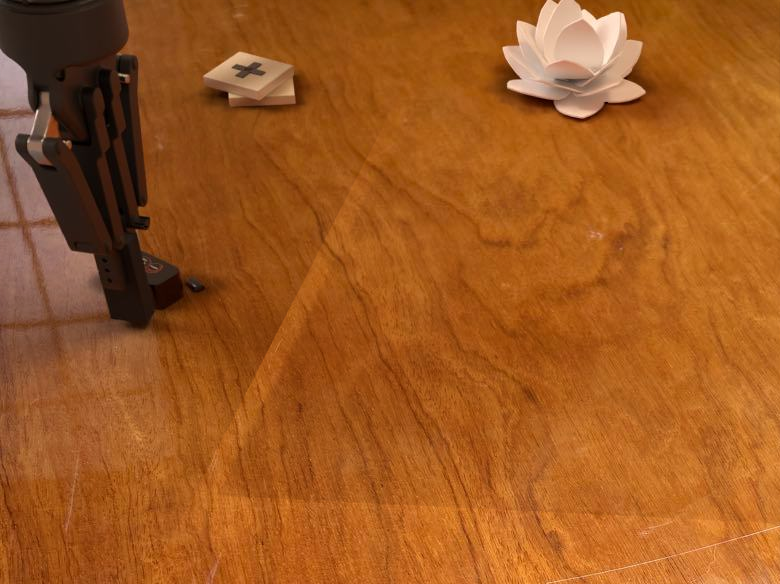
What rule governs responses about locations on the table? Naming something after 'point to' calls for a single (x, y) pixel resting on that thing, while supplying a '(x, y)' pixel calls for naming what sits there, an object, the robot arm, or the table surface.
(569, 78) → the lotus flower
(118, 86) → the robot arm
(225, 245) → the table surface
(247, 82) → the tile pile
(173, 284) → the brown electronic gadget
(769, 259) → the table surface
